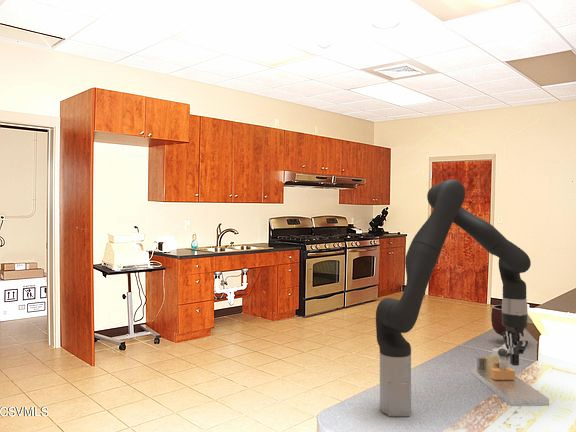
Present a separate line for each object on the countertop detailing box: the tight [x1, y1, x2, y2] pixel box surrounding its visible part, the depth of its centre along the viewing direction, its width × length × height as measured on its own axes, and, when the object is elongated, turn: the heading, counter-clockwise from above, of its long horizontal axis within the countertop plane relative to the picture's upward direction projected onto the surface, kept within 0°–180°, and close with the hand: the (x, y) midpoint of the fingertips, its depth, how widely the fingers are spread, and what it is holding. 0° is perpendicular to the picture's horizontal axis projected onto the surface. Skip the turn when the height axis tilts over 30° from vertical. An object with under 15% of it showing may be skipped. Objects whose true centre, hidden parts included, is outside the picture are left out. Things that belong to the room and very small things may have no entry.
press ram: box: [491, 348, 516, 380], centre depth 161 cm, size 3×7×10 cm, turn 91°
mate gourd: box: [490, 304, 525, 348], centre depth 211 cm, size 16×14×20 cm
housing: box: [482, 355, 509, 375], centre depth 167 cm, size 8×5×5 cm, turn 0°
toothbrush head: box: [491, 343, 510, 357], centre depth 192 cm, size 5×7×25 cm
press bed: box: [470, 356, 550, 406], centre depth 159 cm, size 30×12×6 cm, turn 1°
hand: (514, 364), depth 153 cm, fingers closed
